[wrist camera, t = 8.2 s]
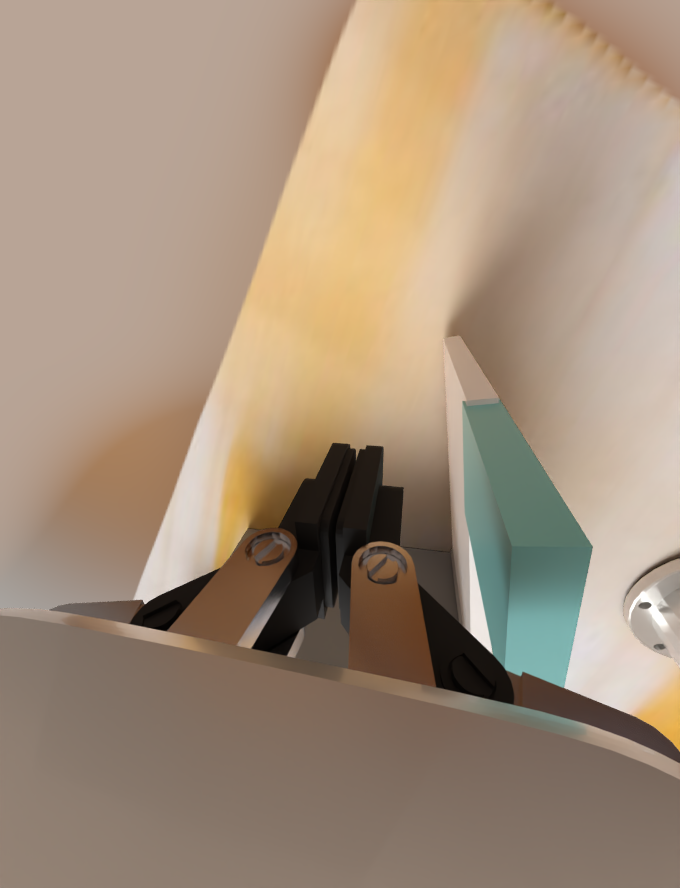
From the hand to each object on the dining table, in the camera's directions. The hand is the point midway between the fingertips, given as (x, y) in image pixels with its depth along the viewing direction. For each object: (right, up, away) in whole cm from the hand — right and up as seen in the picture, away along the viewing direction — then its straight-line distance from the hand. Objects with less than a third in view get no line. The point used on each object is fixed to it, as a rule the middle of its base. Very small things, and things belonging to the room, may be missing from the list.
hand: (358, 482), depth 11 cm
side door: (+8, 0, +14) cm, 16 cm away
